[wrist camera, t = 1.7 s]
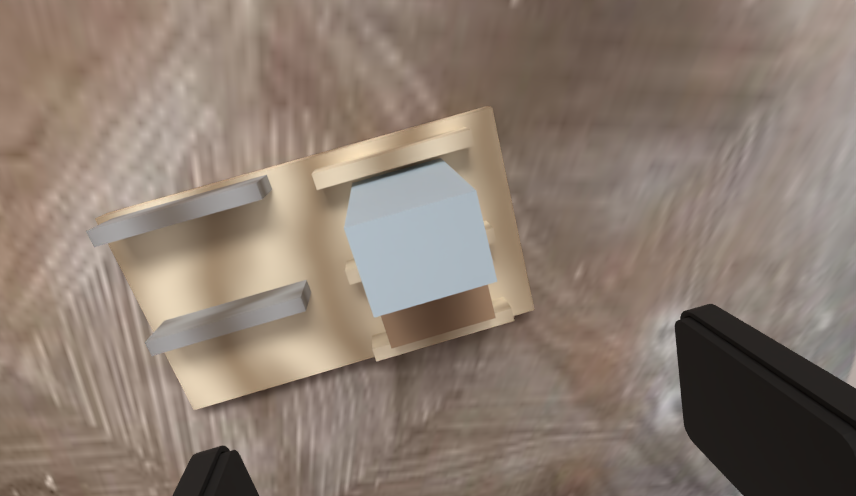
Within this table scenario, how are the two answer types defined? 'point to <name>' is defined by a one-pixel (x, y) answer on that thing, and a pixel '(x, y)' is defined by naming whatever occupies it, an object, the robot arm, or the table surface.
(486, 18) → the table surface
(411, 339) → the offcut
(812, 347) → the table surface
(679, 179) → the table surface
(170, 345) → the rack
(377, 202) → the light blue block
